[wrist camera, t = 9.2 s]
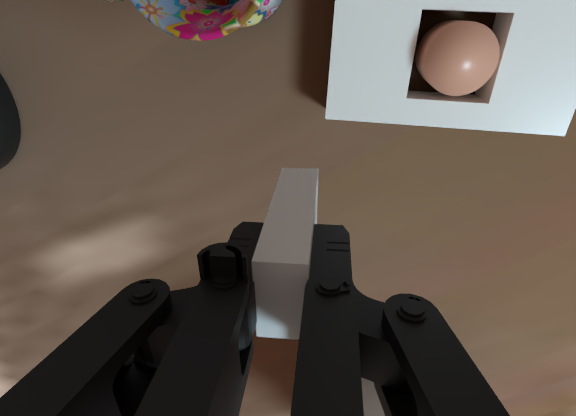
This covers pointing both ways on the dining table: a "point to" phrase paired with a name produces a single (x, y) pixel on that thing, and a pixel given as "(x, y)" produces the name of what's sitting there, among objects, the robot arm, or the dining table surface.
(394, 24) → the panel
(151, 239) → the dining table surface
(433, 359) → the robot arm
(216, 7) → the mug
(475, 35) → the terracotta button
